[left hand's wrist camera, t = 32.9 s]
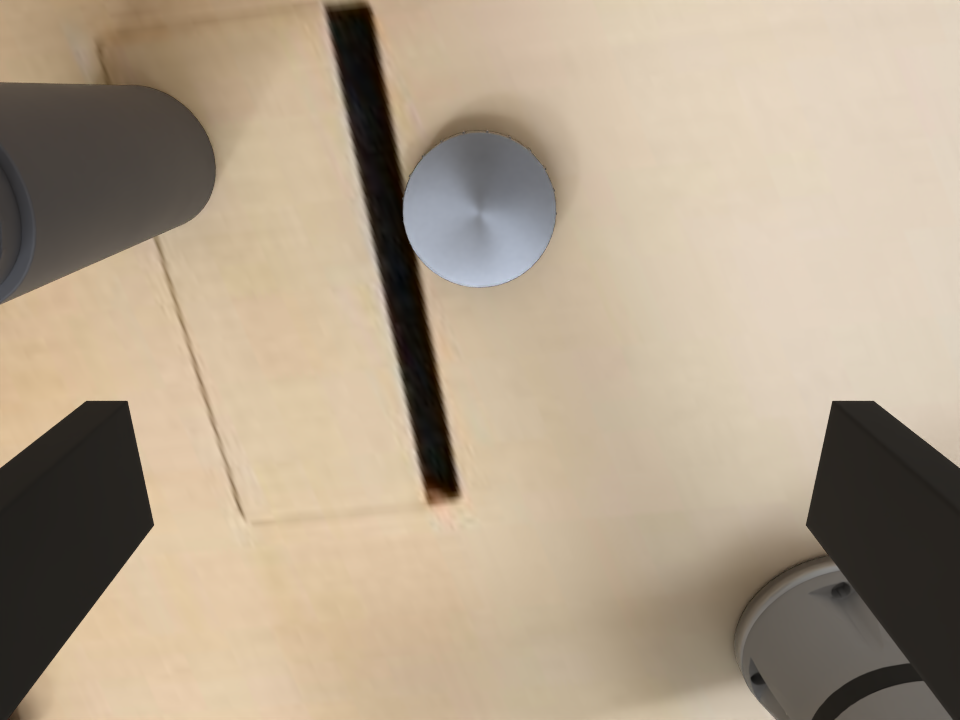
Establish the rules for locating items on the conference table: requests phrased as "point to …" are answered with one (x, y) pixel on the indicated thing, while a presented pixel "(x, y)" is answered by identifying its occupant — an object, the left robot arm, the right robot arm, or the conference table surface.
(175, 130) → the jar
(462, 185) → the lid
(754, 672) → the left robot arm
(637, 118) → the conference table surface
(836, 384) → the conference table surface
